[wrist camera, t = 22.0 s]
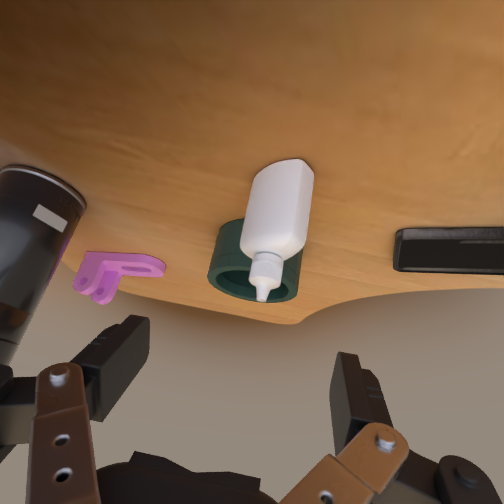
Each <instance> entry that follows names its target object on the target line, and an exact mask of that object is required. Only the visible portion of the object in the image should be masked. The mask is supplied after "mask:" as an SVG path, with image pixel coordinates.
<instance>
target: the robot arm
mask: <svg viewBox="0 0 504 504" xmlns="http://www.w3.org/2000/svg"><path fill="white" fill-rule="evenodd" d="M85 210H86V204H85V201H84V200H83V198H82V197H81V196H80V195H79V194H78V193H77V192H76V191H75V190H74V189H73V188H71V187H70V186H69V185H67V184H66V183H64V182H62V181H61V180H59V179H57V178H55V177H53V176H51V175H49V174H47V173H45V172H42V171H39V170H37V169H33V168H30V167H26V166H19V165H9V166H6V167H4V168H2V170H1V171H0V463H1V462H2V461H3V459H5V457H6V456H7V455H8V454H9V453H10V452H11V450H12V449H13V448H14V447H15V446H16V445H17V444H25V443H29V456H28V471H27V486H26V501H25V504H502V502H501V500H500V498H499V496H498V494H497V492H496V490H495V488H494V486H493V484H492V482H491V480H490V479H489V477H488V476H487V475H486V474H485V473H484V472H483V471H482V470H481V469H480V468H479V467H477V466H476V465H475V464H473V463H472V462H470V461H468V460H466V459H464V458H461V457H458V456H454V455H448V456H444V457H442V458H441V460H440V461H439V464H438V463H436V462H433V461H432V460H429V459H427V458H425V457H423V456H420V455H418V454H417V453H415V452H413V451H412V450H410V449H409V446H408V443H407V441H406V440H405V438H404V437H403V436H402V435H401V434H400V433H399V432H398V431H397V430H395V429H394V427H393V424H392V421H391V419H390V415H389V412H388V409H387V406H386V403H385V400H384V397H383V393H382V391H381V387H380V384H379V381H378V379H377V378H376V377H375V375H374V374H373V373H372V372H371V371H370V370H366V369H361V366H360V362H359V358H358V355H355V354H350V353H344V352H338V354H337V357H336V362H335V366H334V371H333V376H332V380H331V384H330V407H331V417H332V426H333V436H334V446H335V455H336V457H334V456H332V455H331V454H328V455H326V456H325V457H324V458H323V459H322V460H321V461H320V462H319V463H318V464H317V465H316V466H315V467H314V468H313V469H312V470H311V471H310V472H309V473H308V474H307V475H306V476H305V477H304V478H303V479H302V480H301V481H300V482H299V483H298V484H297V485H296V486H295V487H294V488H293V489H292V490H291V491H290V492H289V493H288V494H287V495H286V496H285V497H284V498H283V499H282V500H281V501H280V502H279V503H277V502H276V501H275V500H274V499H273V498H271V497H270V496H268V495H267V494H265V493H263V492H261V491H260V490H259V487H260V480H261V479H260V478H256V477H251V476H246V475H242V474H237V473H233V472H202V473H201V472H200V473H196V472H191V471H190V470H188V469H186V468H184V467H182V466H180V465H178V464H176V463H174V462H172V461H170V460H168V459H166V458H164V457H160V456H155V455H150V454H146V453H141V452H137V451H134V453H133V455H132V457H131V459H130V461H129V462H122V463H116V464H112V465H108V466H105V467H103V468H100V469H98V470H96V466H95V458H94V450H93V443H92V435H91V426H90V420H93V421H98V422H103V420H104V419H105V418H106V416H107V415H108V414H109V412H110V411H111V409H112V408H113V407H114V405H115V404H116V402H117V401H118V400H119V398H120V397H121V395H122V394H123V393H124V391H125V390H126V389H127V387H128V386H129V385H130V383H131V382H132V380H133V379H134V378H135V376H136V375H137V374H138V372H139V370H140V369H141V368H142V367H143V365H144V364H145V362H146V360H147V357H148V354H149V340H150V320H149V318H148V317H143V316H137V315H130V316H129V317H127V318H126V319H125V320H124V322H122V323H121V324H115V325H113V326H111V327H108V328H107V329H105V330H103V331H102V332H101V333H100V334H99V335H98V336H97V338H95V339H94V340H93V341H92V342H91V344H88V345H87V346H86V347H85V348H84V349H83V350H82V351H81V352H80V353H79V354H78V355H77V356H76V357H74V358H73V359H72V360H71V361H70V362H69V363H58V364H55V365H52V366H49V367H48V368H46V369H44V370H43V371H41V372H40V374H39V375H38V376H37V377H13V371H12V368H11V367H10V366H9V364H10V362H11V361H12V359H13V357H14V355H15V353H16V351H17V349H18V345H19V344H20V342H21V340H22V338H23V336H24V333H25V332H26V330H27V327H28V325H29V323H30V321H31V319H32V317H33V315H34V313H35V311H36V309H37V307H38V304H39V303H40V300H41V299H42V297H43V294H44V292H45V290H46V288H47V286H48V284H49V282H50V280H51V278H52V276H53V274H54V272H55V270H56V268H57V266H58V264H59V262H60V260H61V258H62V256H63V254H64V251H65V249H66V247H67V245H68V243H69V241H70V239H71V237H72V235H73V233H74V231H75V229H76V227H77V225H78V223H79V221H80V219H81V217H82V216H83V214H84V212H85Z"/></svg>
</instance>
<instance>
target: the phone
mask: <svg viewBox="0 0 504 504" xmlns="http://www.w3.org/2000/svg"><path fill="white" fill-rule="evenodd" d="M393 269H394V270H396V271H399V272H418V273H449V274H481V275H504V228H456V229H404V230H401V231H399V232H397V233H396V237H395V246H394V255H393Z"/></svg>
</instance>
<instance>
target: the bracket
mask: <svg viewBox="0 0 504 504" xmlns="http://www.w3.org/2000/svg"><path fill="white" fill-rule="evenodd" d="M165 268H166V265H165V264H164V263H163V262H162V261H160V260H159V259H157V258H154V257H152V256H148V255H144V254H127V253H106V252H87V253H86V255H85V257H84V259H83V262H82V264H81V266H80V268H79V271H78V273H77V275H76V277H75V279H74V282H73V287H74V289H75V290H76V291H78V292H79V293H81V294H83V295H89V294H91V299H92V300H93V301H95V302H97V303H99V304H106V303H108V302H110V301H111V300H112V299H113V297H114V295H115V292H116V290H117V287H118V285H119V282H120V279H121V277H122V276H123V275H131V276H145V277H161V276H163V274H164V271H165Z"/></svg>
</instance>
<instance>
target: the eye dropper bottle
mask: <svg viewBox="0 0 504 504" xmlns="http://www.w3.org/2000/svg"><path fill="white" fill-rule="evenodd" d="M313 183H314V173H313V171H312V170H311V169H310V167H309V166H308V165H307V164H306V163H305V162H304V161H303V160H300V159H291V160H284V161H280V162H276V163H274V164H271V165H269V166H267V167H265V168H264V169H262V170H261V171H260V172H259V173H258V174H257V175H256V176H255V178H254V180H253V184H252V188H251V193H250V197H249V202H248V206H247V211H246V215H245V220H244V224H243V229H242V234H241V239H240V248H241V250H242V252H243V253H244V254H246V255H247V256H248V257H250V258H252V259H253V260H252V265H251V270H250V276H249V282H250V283H251V284H252V285H254V286H256V290H257V301H260V302H266V300H267V297H268V294H269V292H270V290H271V289H276V288H278V287H279V286H280V283H281V277H282V270H283V264H284V262H283V261H285V260H287V259H288V258H290V257H292V256H293V255H295V254H296V253H298V252H299V251H300V250H301V249H302V248H303V246H304V244H305V242H306V237H307V230H308V223H309V215H310V207H311V199H312V191H313Z"/></svg>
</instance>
